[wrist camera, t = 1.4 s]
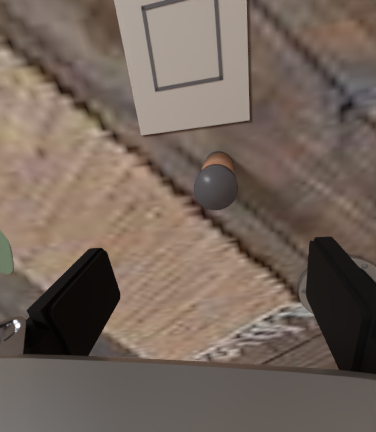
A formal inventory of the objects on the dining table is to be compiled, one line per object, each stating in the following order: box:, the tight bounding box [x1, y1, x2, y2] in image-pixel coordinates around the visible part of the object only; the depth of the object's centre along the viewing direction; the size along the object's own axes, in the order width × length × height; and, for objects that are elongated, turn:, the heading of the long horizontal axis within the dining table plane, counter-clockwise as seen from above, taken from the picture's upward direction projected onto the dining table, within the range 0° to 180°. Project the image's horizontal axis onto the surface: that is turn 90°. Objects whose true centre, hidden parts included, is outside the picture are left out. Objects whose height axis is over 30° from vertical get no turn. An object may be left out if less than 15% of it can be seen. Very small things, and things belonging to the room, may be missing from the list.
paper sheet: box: [114, 0, 250, 135], centre depth 27 cm, size 15×19×1 cm
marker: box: [194, 151, 238, 210], centre depth 27 cm, size 4×4×12 cm
